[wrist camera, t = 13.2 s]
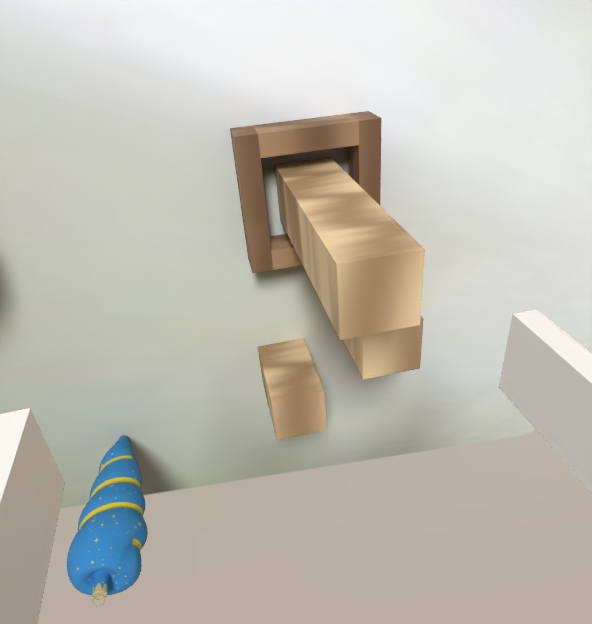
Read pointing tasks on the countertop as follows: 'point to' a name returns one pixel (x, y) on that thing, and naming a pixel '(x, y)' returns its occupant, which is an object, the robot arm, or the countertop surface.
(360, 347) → the medium pin
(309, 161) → the long pin
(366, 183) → the collar block
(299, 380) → the short pin
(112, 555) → the ornament
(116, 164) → the countertop surface
